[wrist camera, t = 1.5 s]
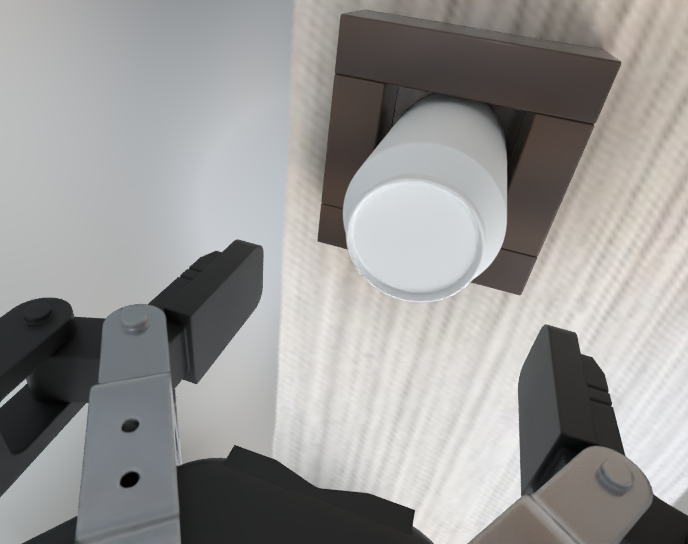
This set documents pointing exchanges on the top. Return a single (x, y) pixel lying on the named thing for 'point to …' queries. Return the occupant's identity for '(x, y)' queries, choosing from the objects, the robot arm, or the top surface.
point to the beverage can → (430, 201)
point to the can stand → (478, 85)
